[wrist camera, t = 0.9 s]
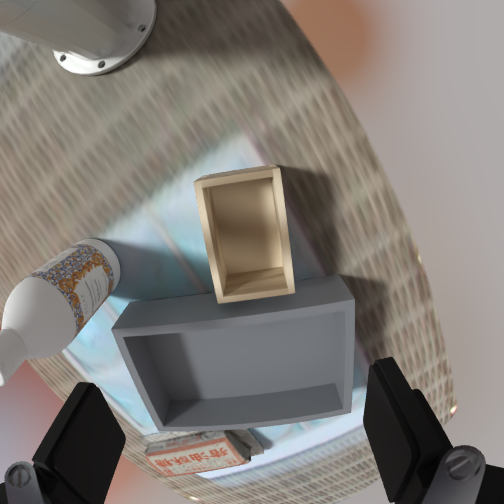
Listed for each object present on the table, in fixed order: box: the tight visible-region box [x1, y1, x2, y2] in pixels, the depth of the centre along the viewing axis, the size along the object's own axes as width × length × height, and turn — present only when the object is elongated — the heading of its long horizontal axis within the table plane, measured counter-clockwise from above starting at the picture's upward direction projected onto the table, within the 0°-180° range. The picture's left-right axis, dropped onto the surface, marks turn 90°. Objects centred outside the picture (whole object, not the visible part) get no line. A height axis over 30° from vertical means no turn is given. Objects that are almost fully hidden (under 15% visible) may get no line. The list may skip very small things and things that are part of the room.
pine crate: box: [194, 164, 295, 304], centre depth 29 cm, size 11×7×6 cm, turn 9°
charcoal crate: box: [111, 274, 355, 432], centre depth 34 cm, size 16×24×6 cm, turn 99°
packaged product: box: [139, 428, 264, 477], centre depth 42 cm, size 18×5×10 cm
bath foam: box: [0, 239, 121, 386], centre depth 24 cm, size 7×7×20 cm
